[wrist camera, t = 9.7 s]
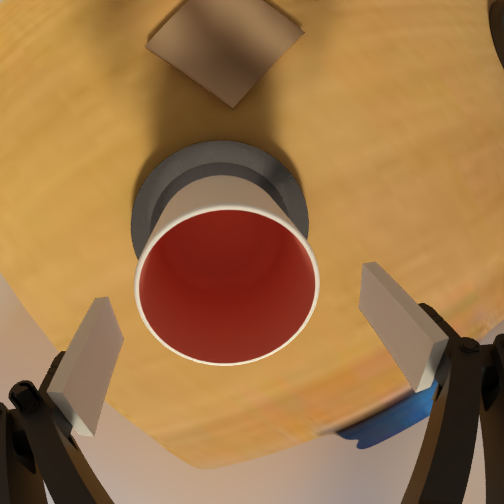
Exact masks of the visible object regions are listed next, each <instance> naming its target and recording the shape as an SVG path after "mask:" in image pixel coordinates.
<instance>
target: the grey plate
mask: <svg viewBox="0 0 504 504" xmlns="http://www.w3.org/2000/svg"><path fill="white" fill-rule="evenodd" d="M217 175H227V176H235V177H239V178H243V179H245V180H248V181H250V182H252V183H254V184H256V185H257V186H259V187H260V188H262V189H263V190H264V191H265V192H266V193H268V194H269V196H270V197H271V198H272V199H273V200H274V201H275V202H276V204H277V205H278V206H279V207H280V208H281V210H282V211H283V212H284V213H285V214H286V215H287V217H288V218H289V219H290V220H291V221H292V223H293V224H294V225H295V226H296V227H297V229H298V230H299V231H300V232H301V234H302V235H303V236H304V237H305V238H306V240H307V237H308V229H309V219H308V210H307V206H306V202H305V198H304V196H303V193H302V191H301V189H300V187H299V185H298V183H297V182H296V180H295V178H294V177H293V176H292V174H291V173H290V172H289V171H288V169H287V168H286V167H284V166H283V165H282V164H281V163H280V162H279V161H278V160H277V159H275V158H274V157H272V156H271V155H270V154H268V153H266V152H264V151H262V150H260V149H259V148H256V147H254V146H251V145H248V144H245V143H241V142H237V141H230V140H211V141H204V142H200V143H196V144H193V145H190V146H187V147H185V148H183V149H181V150H179V151H177V152H175V153H173V154H172V155H171V156H169V157H168V158H166V159H165V160H164V161H162V162H161V163H160V164H159V165H158V166H157V167H156V168H155V169H154V170H153V171H152V172H151V173H150V175H149V176H148V177H147V178H146V180H145V181H144V183H143V185H142V186H141V188H140V190H139V192H138V195H137V197H136V200H135V203H134V206H133V210H132V217H131V237H132V243H133V247H134V250H135V254H136V256H137V259H138V261H139V258H140V256H141V254H142V252H143V250H144V248H145V246H146V244H147V242H148V239H149V237H150V235H151V233H152V232H153V230H154V228H155V226H156V224H157V222H158V220H159V218H160V216H161V214H162V212H163V210H164V209H165V207H166V205H167V204H168V202H169V201H170V200H171V199H172V197H173V196H174V195H175V194H176V193H177V192H178V191H180V190H181V189H182V188H183V187H185V186H186V185H188V184H190V183H192V182H194V181H196V180H199V179H202V178H205V177H209V176H217Z"/></svg>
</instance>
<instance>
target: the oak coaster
mask: <svg viewBox="0 0 504 504" xmlns="http://www.w3.org/2000/svg"><path fill="white" fill-rule="evenodd" d="M304 33H305V32H304V31H303V30H301V29H300V28H299V27H298V26H296V25H295V24H294V23H293V22H291V21H290V20H289V19H288V18H286V17H285V16H284V15H282V14H281V13H280V12H278V11H277V10H276V9H274V8H273V7H272V6H270V5H269V4H267V3H266V2H265V1H263V0H189V1H187V2H186V3H185V4H184V5H183V6H182V7H181V8H180V9H179V10H178V11H177V12H176V13H175V14H174V15H173V16H172V17H171V18H170V19H169V20H168V21H167V22H166V23H165V25H164V26H163V27H162V28H161V29H160V30H159V31H158V32H157V33H156V34H155V35H154V36H153V38H152V39H151V40H150V41H149V42H148V43H147V44H146V46H145V47H146V48H147V49H148V50H149V51H151V52H152V53H154V54H155V55H157V56H158V57H160V58H161V59H163V60H164V61H166V62H167V63H169V64H170V65H172V66H173V67H175V68H176V69H178V70H179V71H181V72H182V73H184V74H185V75H186V76H188V77H189V78H191V79H192V80H194V81H195V82H196V83H198V84H199V85H201V86H202V87H203V88H205V89H206V90H207V91H209V92H210V93H212V94H213V95H214V96H216V97H217V98H218V99H220V100H221V101H222V102H224V103H225V104H226V105H228V106H229V107H230V108H231V109H233V108H234V107H235V106H236V105H237V104H238V102H239V101H240V100H241V99H242V98H243V97H244V96H245V94H246V93H247V92H248V91H249V90H250V89H251V88H252V87H253V86H254V84H255V83H256V82H257V81H258V80H259V79H260V78H261V77H262V76H263V75H264V74H265V73H266V71H267V70H268V69H269V68H270V67H271V66H272V65H273V64H274V63H275V62H276V61H277V60H278V59H279V58H280V57H281V56H282V55H283V54H284V53H285V52H286V51H287V50H288V49H289V48H290V47H291V46H292V45H293V44H294V43H295V42H296V41H297V40H298V39H299V38H300V37H301V36H302V35H303V34H304Z"/></svg>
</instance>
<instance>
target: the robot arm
mask: <svg viewBox="0 0 504 504" xmlns="http://www.w3.org/2000/svg"><path fill="white" fill-rule="evenodd" d="M490 25H491V31H492V36H493V40H494V44H495V47H496V50H497V53H498V56H499V58H500V61H501V63H502V65H503V67H504V0H498V1H496V2H494V3H493V5H492V7H491V11H490ZM359 309H360V310H361V312H362V313H363V315H364V316H365V317H366V319H367V320H368V322H369V323H370V325H371V326H372V328H373V329H374V331H375V332H376V333H377V335H378V336H379V338H380V339H381V341H382V342H383V344H384V345H385V347H386V348H387V350H388V351H389V353H390V354H391V356H392V357H393V359H394V360H395V362H396V363H397V365H398V366H399V368H400V369H401V371H402V372H403V374H404V375H405V377H406V379H407V380H408V382H409V383H410V385H411V386H412V388H413V389H414V391H415V393H416V392H419V391H422V390H424V389H427V388H429V387H430V386H431V384H432V382H433V379H434V378H435V379H436V380H437V382H438V386H437V388H436V390H435V392H434V394H433V397H432V399H431V400H434V401H433V405H432V410H431V414H430V418H429V422H428V425H427V429H426V433H425V436H424V440H423V443H422V446H421V450H420V453H419V456H418V459H417V462H416V465H415V468H414V471H413V473H412V476H411V479H410V482H409V484H408V487H407V490H406V492H405V494H404V497H403V499H402V502H401V504H462V502H463V498H464V494H465V490H466V487H467V482H468V478H469V474H470V469H471V464H472V459H473V454H474V448H475V442H476V435H477V428H478V419H479V415H480V422H481V429H482V438H483V447H484V459H485V474H486V475H485V476H486V504H504V334H499V335H497V336H496V338H495V340H494V342H493V344H488V345H480V344H479V343H478V342H477V341H476V340H474V339H472V338H469V337H462V338H461V337H460V336H459V335H458V334H457V333H456V332H455V331H454V330H453V328H452V327H451V326H450V325H449V324H448V323H447V322H446V321H444V319H443V318H442V317H441V316H440V315H439V314H438V313H437V312H436V311H435V310H434V309H433V308H432V307H430V306H428V305H427V304H425V303H420V304H417V303H416V302H415V301H414V300H413V299H412V298H411V297H410V296H409V294H408V293H407V292H406V291H405V290H404V289H403V288H402V287H401V286H400V285H399V284H398V283H397V282H396V281H395V280H394V279H393V278H392V277H391V276H390V275H389V274H388V273H387V272H386V271H385V270H384V269H383V268H382V267H381V266H380V265H378V264H377V263H376V262H370V263H364V264H363V267H362V280H361V291H360V301H359ZM123 340H124V338H123V336H122V333H121V330H120V328H119V325H118V323H117V320H116V317H115V315H114V312H113V309H112V306H111V304H110V301H109V298H108V297H102V298H95V300H94V302H93V303H92V305H91V307H90V308H89V310H88V312H87V314H86V315H85V317H84V319H83V321H82V323H81V324H80V326H79V328H78V330H77V332H76V334H75V335H74V337H73V339H72V341H71V343H70V345H69V347H68V349H67V351H61V352H60V353H59V354H58V355H57V356H56V357H55V358H54V360H53V362H52V364H51V368H49V370H48V372H47V374H46V376H45V378H44V380H43V382H42V384H41V386H40V388H39V390H37V389H36V388H35V386H34V385H33V383H32V382H31V381H28V380H26V381H24V380H23V381H21V382H18V383H17V384H15V385H14V386H13V387H12V388H11V390H10V392H9V399H10V401H11V402H12V403H13V405H14V406H15V407H16V409H11V410H8V409H7V407H6V406H5V405H4V404H3V403H1V402H0V504H48V502H47V498H46V493H45V488H44V483H43V480H44V482H45V484H46V486H47V488H48V491H49V493H50V495H51V497H52V499H53V501H54V503H55V504H114V502H113V501H112V500H111V498H110V497H109V495H108V494H107V492H106V491H105V489H104V488H103V486H102V485H101V483H100V482H99V480H98V479H97V477H96V476H95V474H94V472H93V471H92V469H91V467H90V466H89V464H88V462H87V461H86V459H85V457H84V455H83V454H82V452H81V450H80V448H79V447H78V445H77V443H76V441H75V439H74V438H73V436H72V435H71V434H70V433H71V430H72V427H73V428H74V429H75V430H76V432H77V433H78V434H79V435H85V436H94V435H95V431H96V427H97V424H98V420H99V416H100V413H101V409H102V406H103V402H104V399H105V396H106V392H107V389H108V386H109V382H110V379H111V376H112V373H113V370H114V367H115V364H116V361H117V358H118V355H119V352H120V349H121V346H122V343H123Z"/></svg>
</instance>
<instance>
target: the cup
mask: <svg viewBox="0 0 504 504" xmlns="http://www.w3.org/2000/svg"><path fill="white" fill-rule="evenodd" d="M319 286H320V278H319V269H318V264H317V261H316V258H315V255H314V252H313V250H312V248H311V246H310V245H309V243H308V242H307V240H306V238H305V237H304V236H303V235H302V234H301V232H300V231H299V230H298V229H297V227H296V226H295V225H294V224H293V223H292V221H291V220H290V219H289V218H288V217H287V215H286V214H285V213H284V212H283V211H282V210H281V208H280V207H279V206H278V205H277V204H276V202H275V201H274V200H273V199H272V198H271V197H270V196H269V194H268V193H266V192H265V191H264V190H263V189H262V188H260V187H259V186H257V185H256V184H254V183H252V182H250V181H248V180H245V179H243V178H239V177H235V176H227V175H217V176H209V177H205V178H202V179H199V180H196V181H194V182H192V183H190V184H188V185H186V186H185V187H183V188H182V189H181V190H180V191H178V192H177V193H176V194H175V195H174V196H173V197H172V199H171V200H170V201H169V202H168V204H167V205H166V207H165V209H164V210H163V212H162V214H161V216H160V218H159V220H158V222H157V224H156V226H155V228H154V230H153V232H152V233H151V235H150V237H149V239H148V242H147V244H146V246H145V248H144V250H143V252H142V254H141V256H140V258H139V261H138V264H137V267H136V272H135V279H134V293H135V300H136V304H137V308H138V310H139V313H140V316H141V318H142V320H143V321H144V323H145V325H146V326H147V328H148V329H149V331H150V332H151V333H152V334H153V335H154V337H155V338H156V339H157V340H158V341H160V342H161V343H162V344H163V345H164V346H166V347H167V348H168V349H170V350H171V351H173V352H175V353H176V354H178V355H180V356H182V357H185V358H187V359H189V360H192V361H195V362H199V363H204V364H209V365H220V366H230V365H239V364H245V363H250V362H253V361H257V360H260V359H262V358H265V357H267V356H269V355H271V354H273V353H275V352H277V351H278V350H280V349H282V348H283V347H284V346H286V345H287V344H288V343H290V342H291V341H292V340H293V339H294V338H295V337H296V336H297V335H298V334H299V333H300V332H301V331H302V329H303V328H304V327H305V325H306V324H307V322H308V321H309V319H310V317H311V315H312V313H313V311H314V309H315V306H316V303H317V299H318V294H319Z"/></svg>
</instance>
